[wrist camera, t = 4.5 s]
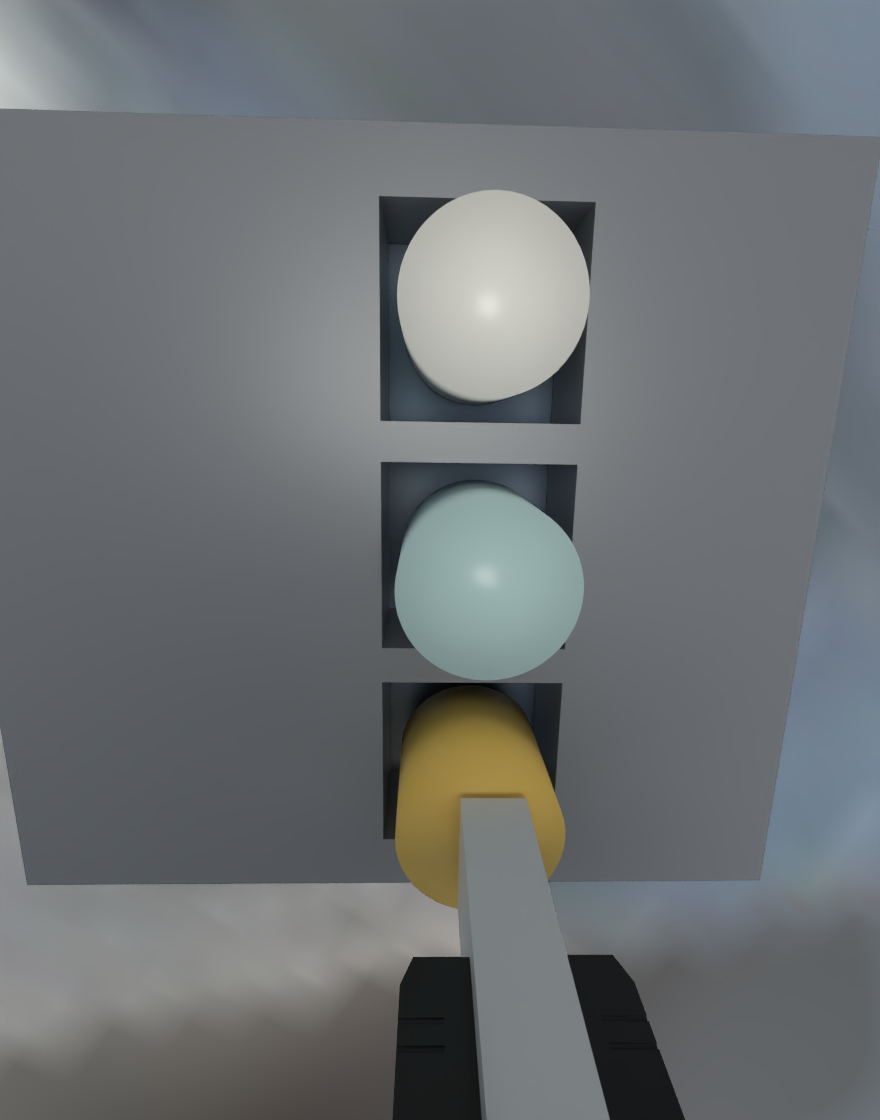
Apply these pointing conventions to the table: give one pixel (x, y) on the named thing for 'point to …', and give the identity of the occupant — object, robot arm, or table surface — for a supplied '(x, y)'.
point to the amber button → (467, 782)
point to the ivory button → (491, 296)
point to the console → (363, 482)
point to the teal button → (486, 582)
